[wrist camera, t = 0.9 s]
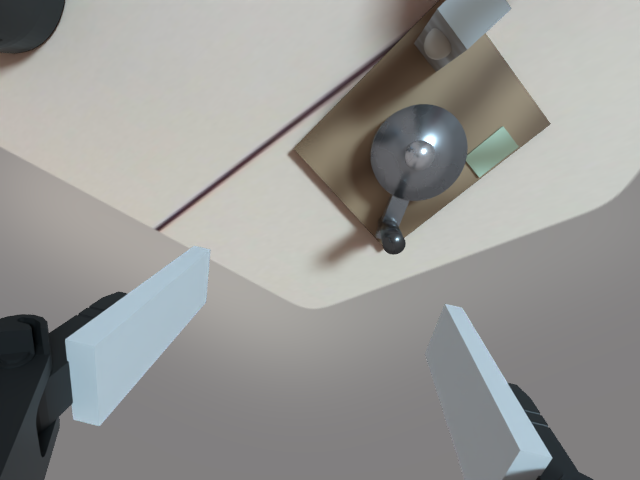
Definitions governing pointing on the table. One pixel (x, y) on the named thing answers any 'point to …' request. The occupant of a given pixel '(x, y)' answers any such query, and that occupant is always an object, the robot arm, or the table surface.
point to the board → (434, 89)
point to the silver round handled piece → (415, 162)
